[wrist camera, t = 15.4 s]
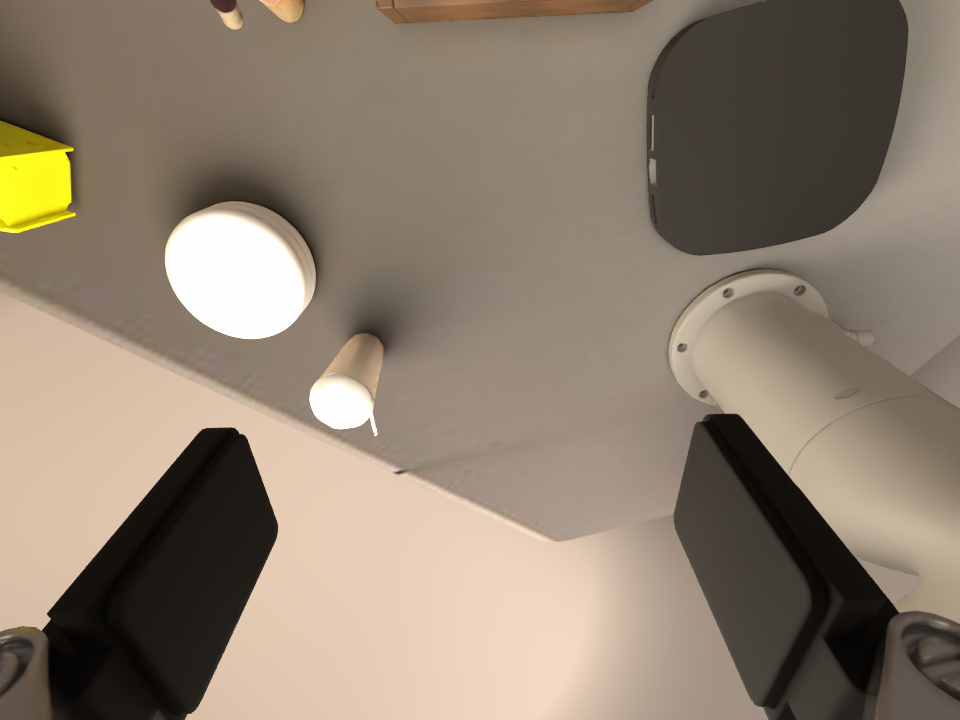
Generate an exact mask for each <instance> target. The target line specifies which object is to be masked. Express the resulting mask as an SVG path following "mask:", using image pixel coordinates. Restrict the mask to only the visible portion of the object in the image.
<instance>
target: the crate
mask: <svg viewBox="0 0 960 720" xmlns="http://www.w3.org/2000/svg"><path fill="white" fill-rule="evenodd" d="M651 1H653V0H376V5H377V9H378V10H379V11H381V12H382V13H383V14H384V15H386V16H387V17H388V18H389V19H391V20H392V21H393V22H394V23H411V22H432V21H453V20H473V19H494V18H515V17H536V16H556V15H577V14H598V13H618V12H633V11H635V10H637V9H638V8H640V7H642V6H644V5H646V4H647V3H649V2H651Z"/></svg>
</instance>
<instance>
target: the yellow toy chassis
mask: <svg viewBox="0 0 960 720" xmlns="http://www.w3.org/2000/svg"><path fill="white" fill-rule="evenodd" d="M70 151H73V148H72V147H70V146H67V145H64V144H62V143H59V142H56V141H54V140H51V139H48V138H46V137H43V136H41V135H38V134H35V133H33V132H30V131H27V130H25V129H22V128H19V127H17V126H14V125H11V124H9V123H6V122H3V121H1V120H0V231H5V232H14V233H18V232H22V231H25V230H29V229H32V228H35V227H39V226H42V225H45V224H49V223H52V222H56V221H59V220H62V219H66V218H69V217H73V216H75V213H74V212H71V211H68V210H67V207H68V205H69V203H71V171H70V161H69V159H68V157H67V155H66V154H65V152H70Z"/></svg>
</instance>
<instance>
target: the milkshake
mask: <svg viewBox="0 0 960 720" xmlns="http://www.w3.org/2000/svg"><path fill="white" fill-rule="evenodd" d="M383 354H384V346H383V345H382V343H381V342H380V340H379V339H378V337H375V336H373V335H371V334H369V333H360V334H355V335H354V336H353V337H352V338H351V339H350V340H349V341H348V342H347V343H346V344H345V346H344V347H343V348H342V350H341V351H340V352H339V354H338V355H337V356H336V358H335V359H334V361H333V362H332V363H331V365H330V366H329V367H328V368H327V369H326V370H325V372H324V373H323V374H322V375H321V377H320V378H319V379H318V380H317V381H316V383H315V384H314V385H313V387H312V389H311V392H310V404H311V407H312V410H313V412H314V414H315V416H316V417H317V418H318V419H319V420H321V421H322V422H324V423H326V424H327V425H329V426H330V427H332V428H335V429H345V428H352V427H357V426H360V425H361V424H363V423H364V422H365V421H366V420H367V419H368V418H369V417H370V420H371V424H372V428H373V432H374V436H375V437H376V435H377V429H376V425H375V421H374V417H373V413H372V411H373V407H374V401H375V395H376V389H377V383H378V379H379V374H380V370H381V365H382V361H383Z"/></svg>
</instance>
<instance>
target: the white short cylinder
mask: <svg viewBox="0 0 960 720" xmlns="http://www.w3.org/2000/svg"><path fill="white" fill-rule="evenodd" d="M165 266H166V272H167V275H168V278H169V281H170V284H171V286H172V288H173V290H174V292H175V293H176V295H177V297H178V298H179V300H180V301H181V302H182V304H183V305H184V306H185V307H186V308H187V309H188V311H190V312H191V313H192V314H193V315H194V316H195V317H196V318H197V319H199V320H200V321H201V322H203V323H204V324H206V325H207V326H209V327H211V328H213V329H214V330H216V331H219V332H221V333H224V334H226V335H230V336H233V337H238V338H246V339H256V338H264V337H269V336H271V335H274V334H277V333H279V332H281V331H283V330H285V329H286V328H288V327H289V326H290V325H292V324H293V322H294V321H295V320H296V319H297V318H298V316H299V315H300V314H301V313H302V312H303V310H304V309H305V308H306V307H307V306H308V304H309V303H310V301H311V299H312V297H313V294H314V290H315V284H316V270H315V264H314V261H313V257H312V255H311V252H310V250H309V248H308V246H307V244H306V242H305V241H304V239H303V238H302V236H301V235H300V234H299V233H298V231H297V230H296V229H295V228H294V227H293V226H292V225H291V224H290V223H289V222H288V221H286V220H285V219H284V218H282V217H281V216H280V215H278V214H276V213H275V212H273V211H271V210H269V209H267V208H265V207H262V206H259V205H256V204H252V203H247V202H238V201H230V202H222V203H218V204H215V205H212V206H210V207H208V208H205V209H203V210H200V211H198V212H195V213H193V214H191V215H189V216H188V217H186V218H184V219H183V220H182V221H181V222H180V223H179V224H178V225H177V226H176V228H175V229H174V230H173V232H172V233H171V235H170V237H169V239H168V242H167V246H166V250H165Z"/></svg>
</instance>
